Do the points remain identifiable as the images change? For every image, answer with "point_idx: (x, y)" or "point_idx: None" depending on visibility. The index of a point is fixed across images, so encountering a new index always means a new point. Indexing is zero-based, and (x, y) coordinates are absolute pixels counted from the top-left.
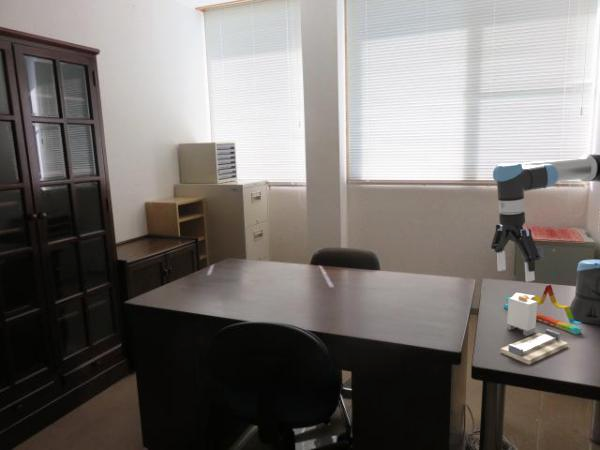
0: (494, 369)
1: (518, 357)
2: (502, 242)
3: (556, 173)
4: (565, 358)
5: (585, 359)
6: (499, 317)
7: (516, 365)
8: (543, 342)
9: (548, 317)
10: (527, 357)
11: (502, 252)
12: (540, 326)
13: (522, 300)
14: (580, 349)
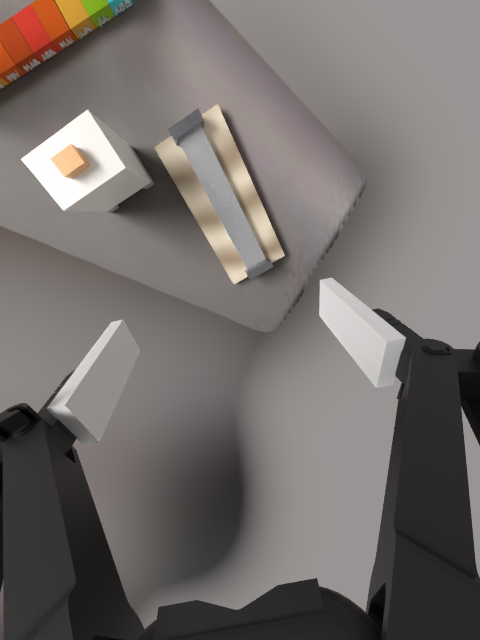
0: (286, 315)
1: None
2: (112, 558)
3: None
4: (270, 160)
5: (281, 110)
6: (29, 193)
7: (281, 276)
8: (230, 186)
9: (16, 20)
10: (274, 253)
11: (79, 415)
12: (81, 96)
13: (83, 170)
14: (232, 79)
